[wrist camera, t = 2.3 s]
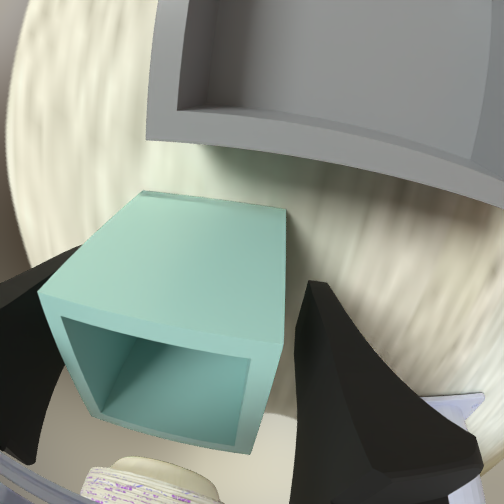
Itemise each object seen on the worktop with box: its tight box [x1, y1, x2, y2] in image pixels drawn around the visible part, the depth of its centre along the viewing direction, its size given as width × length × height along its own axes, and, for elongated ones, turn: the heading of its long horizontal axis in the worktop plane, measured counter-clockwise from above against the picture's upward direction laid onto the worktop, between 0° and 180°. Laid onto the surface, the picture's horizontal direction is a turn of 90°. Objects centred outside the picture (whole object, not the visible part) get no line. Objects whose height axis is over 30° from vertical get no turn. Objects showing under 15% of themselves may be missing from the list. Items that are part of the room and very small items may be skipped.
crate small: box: [38, 191, 286, 455], centre depth 9 cm, size 5×5×6 cm
